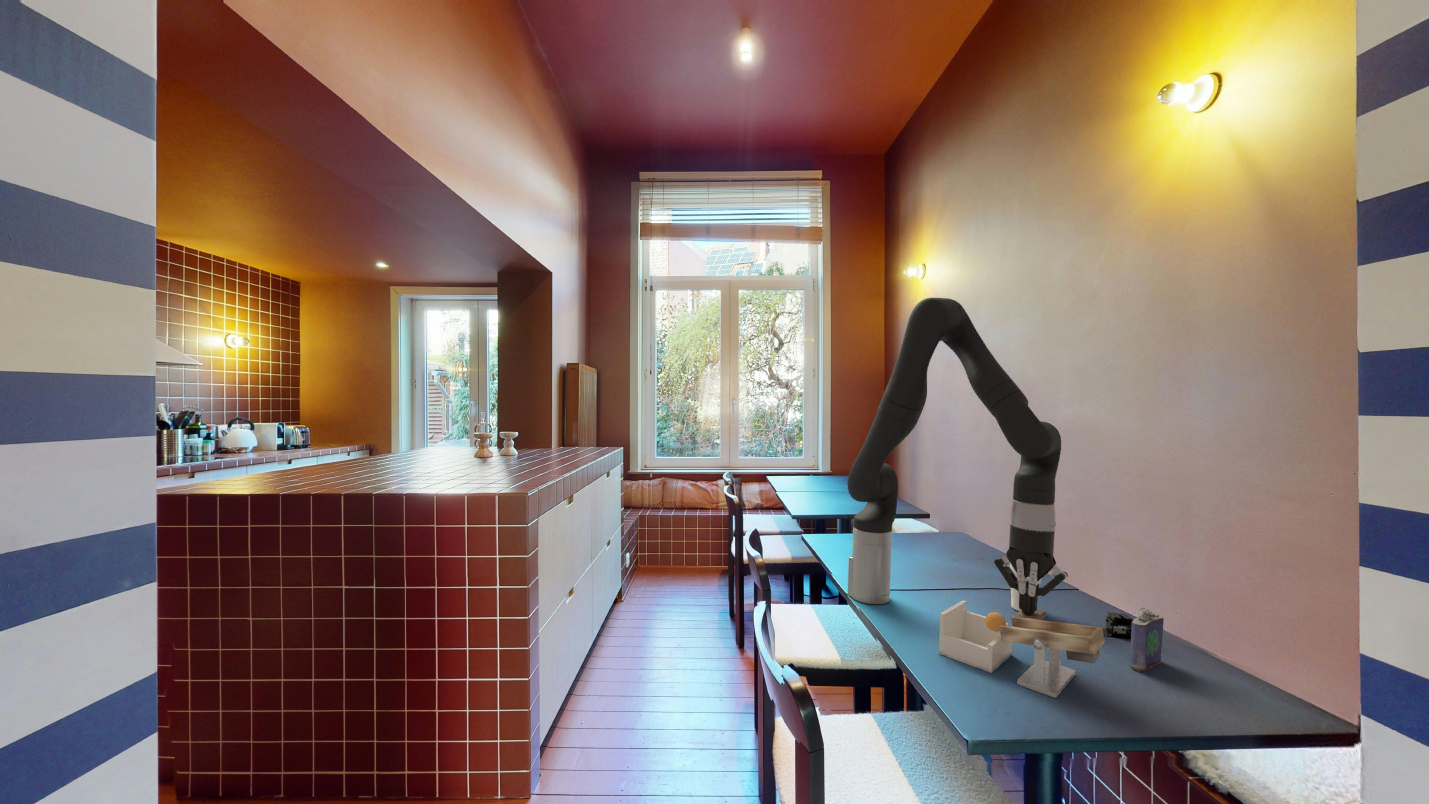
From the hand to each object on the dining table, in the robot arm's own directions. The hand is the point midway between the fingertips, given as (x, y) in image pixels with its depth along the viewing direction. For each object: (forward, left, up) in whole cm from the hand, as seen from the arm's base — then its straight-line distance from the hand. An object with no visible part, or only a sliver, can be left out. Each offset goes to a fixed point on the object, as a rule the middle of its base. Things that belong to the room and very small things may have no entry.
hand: (1027, 613), depth 109 cm
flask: (+16, +15, -9) cm, 24 cm away
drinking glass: (-9, +27, -9) cm, 29 cm away
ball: (-4, -6, -1) cm, 8 cm away
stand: (+5, -6, -9) cm, 12 cm away
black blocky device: (+10, +28, -9) cm, 31 cm away
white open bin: (-7, -6, -9) cm, 13 cm away
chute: (+6, -3, -4) cm, 8 cm away
